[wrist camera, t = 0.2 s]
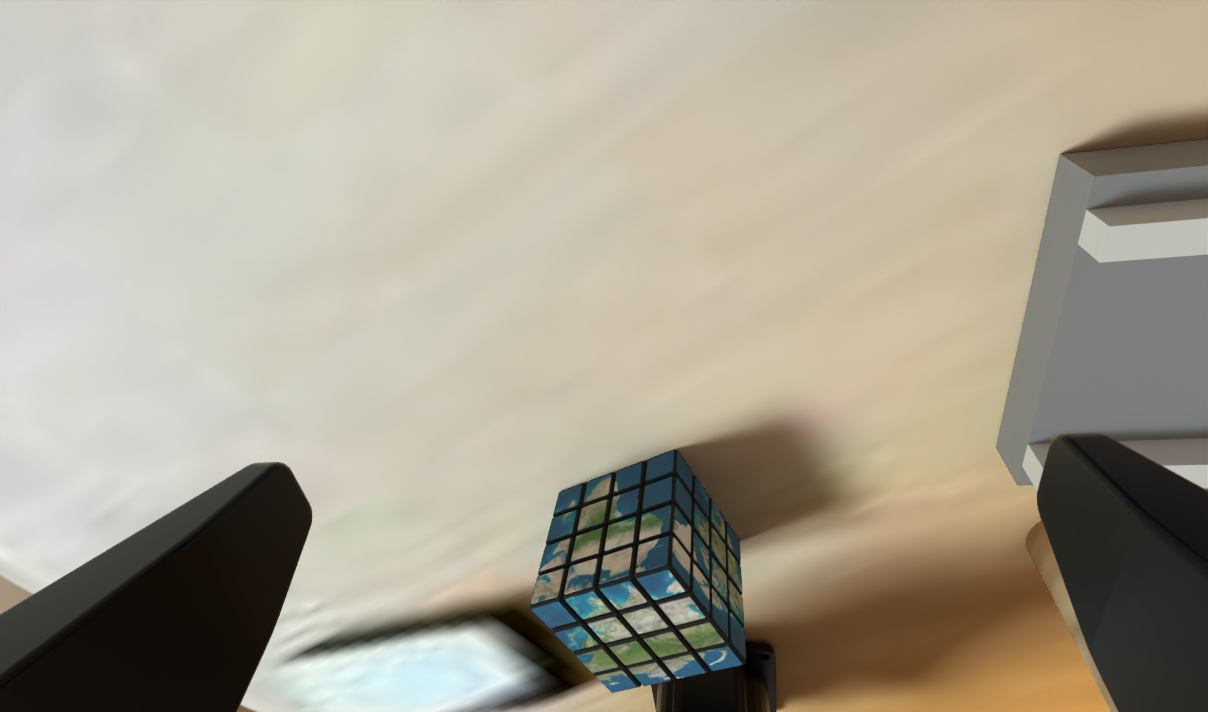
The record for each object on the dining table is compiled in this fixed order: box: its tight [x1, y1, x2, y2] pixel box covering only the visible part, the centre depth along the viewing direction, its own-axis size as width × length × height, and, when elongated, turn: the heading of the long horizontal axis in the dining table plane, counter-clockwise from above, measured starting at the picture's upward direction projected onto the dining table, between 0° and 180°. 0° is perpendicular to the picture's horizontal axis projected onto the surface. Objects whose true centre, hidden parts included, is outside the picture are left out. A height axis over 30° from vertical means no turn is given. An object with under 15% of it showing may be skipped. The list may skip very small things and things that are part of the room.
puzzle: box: [530, 450, 746, 693], centre depth 26 cm, size 6×6×6 cm
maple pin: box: [1026, 521, 1118, 712], centre depth 23 cm, size 3×3×9 cm
